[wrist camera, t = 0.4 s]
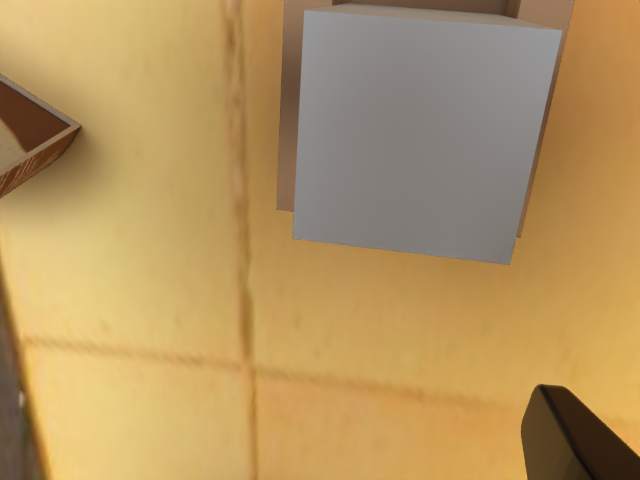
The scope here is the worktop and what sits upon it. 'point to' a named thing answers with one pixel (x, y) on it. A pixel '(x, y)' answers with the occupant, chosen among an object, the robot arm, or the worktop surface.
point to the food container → (29, 135)
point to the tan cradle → (519, 3)
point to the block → (418, 128)
